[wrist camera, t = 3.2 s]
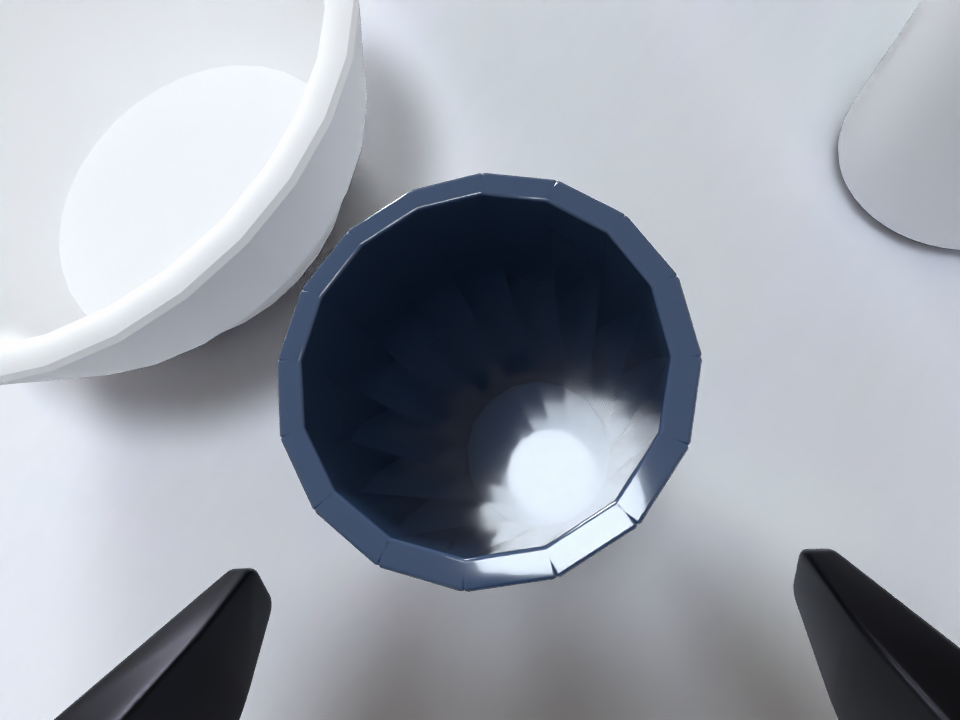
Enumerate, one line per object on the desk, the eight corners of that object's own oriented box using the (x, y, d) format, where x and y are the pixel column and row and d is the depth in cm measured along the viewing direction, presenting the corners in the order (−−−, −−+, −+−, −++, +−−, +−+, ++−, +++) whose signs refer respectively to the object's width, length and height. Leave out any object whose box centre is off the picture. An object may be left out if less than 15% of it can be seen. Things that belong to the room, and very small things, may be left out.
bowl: (232, -34, 30) (112, -226, 22) (528, 148, 23) (504, -37, 15) (-58, 247, 28) (-306, 145, 20) (173, 541, 21) (-66, 560, 13)
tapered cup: (653, 478, 19) (804, 419, 6) (513, 569, 19) (392, 685, 6) (559, 347, 21) (535, 107, 8) (432, 429, 21) (220, 311, 8)
